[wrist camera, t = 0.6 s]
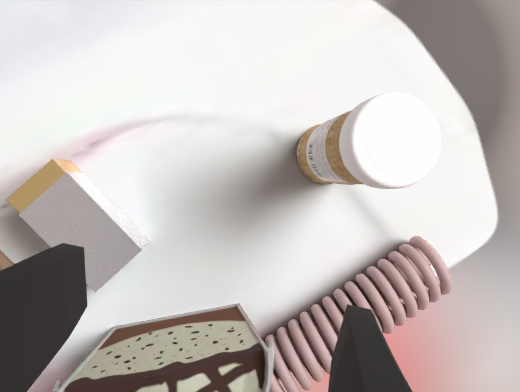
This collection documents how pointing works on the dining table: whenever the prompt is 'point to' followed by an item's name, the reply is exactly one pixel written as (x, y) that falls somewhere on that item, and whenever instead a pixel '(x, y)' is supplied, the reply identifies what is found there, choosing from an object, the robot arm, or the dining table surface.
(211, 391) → the food container
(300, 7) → the dining table surface
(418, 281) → the coil
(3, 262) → the wooden tray
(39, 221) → the white yellow block
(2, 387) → the robot arm
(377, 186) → the sprinkles bottle
